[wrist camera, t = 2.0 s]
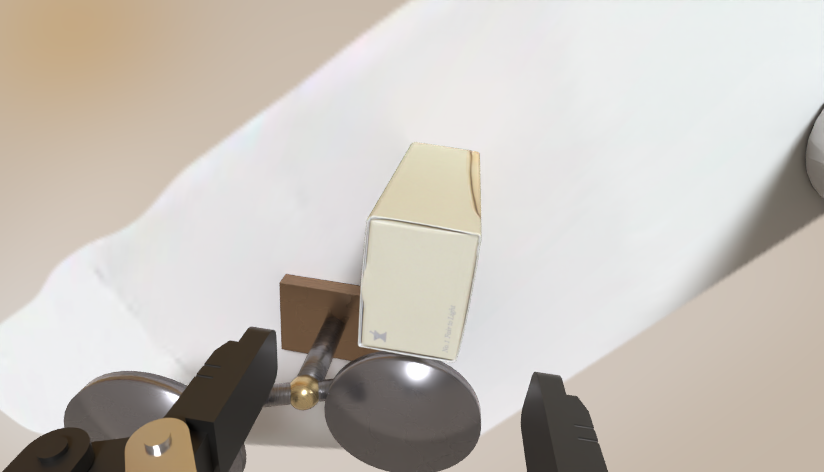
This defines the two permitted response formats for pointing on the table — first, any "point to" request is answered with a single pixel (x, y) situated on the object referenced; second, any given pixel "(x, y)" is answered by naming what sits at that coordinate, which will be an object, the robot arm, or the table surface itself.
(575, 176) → the table surface
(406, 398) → the balance
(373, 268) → the skincare box
